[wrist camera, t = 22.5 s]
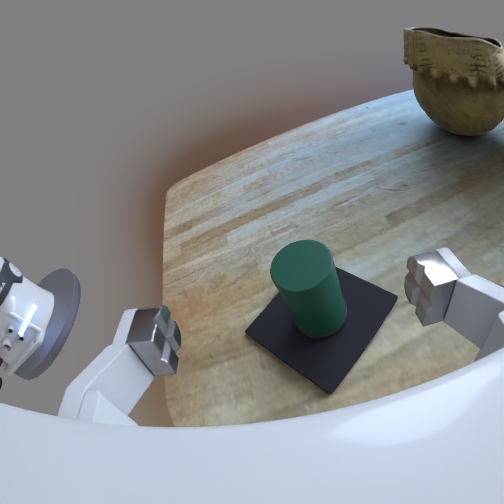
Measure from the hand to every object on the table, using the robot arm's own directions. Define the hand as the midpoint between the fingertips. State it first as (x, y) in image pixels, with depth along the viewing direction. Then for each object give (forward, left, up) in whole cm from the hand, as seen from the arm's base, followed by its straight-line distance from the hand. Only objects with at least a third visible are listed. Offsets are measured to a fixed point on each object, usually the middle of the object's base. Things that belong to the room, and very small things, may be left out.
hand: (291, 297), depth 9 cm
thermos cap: (+6, +8, -19) cm, 22 cm away
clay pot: (+51, +4, -20) cm, 55 cm away
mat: (+6, +8, -20) cm, 22 cm away
